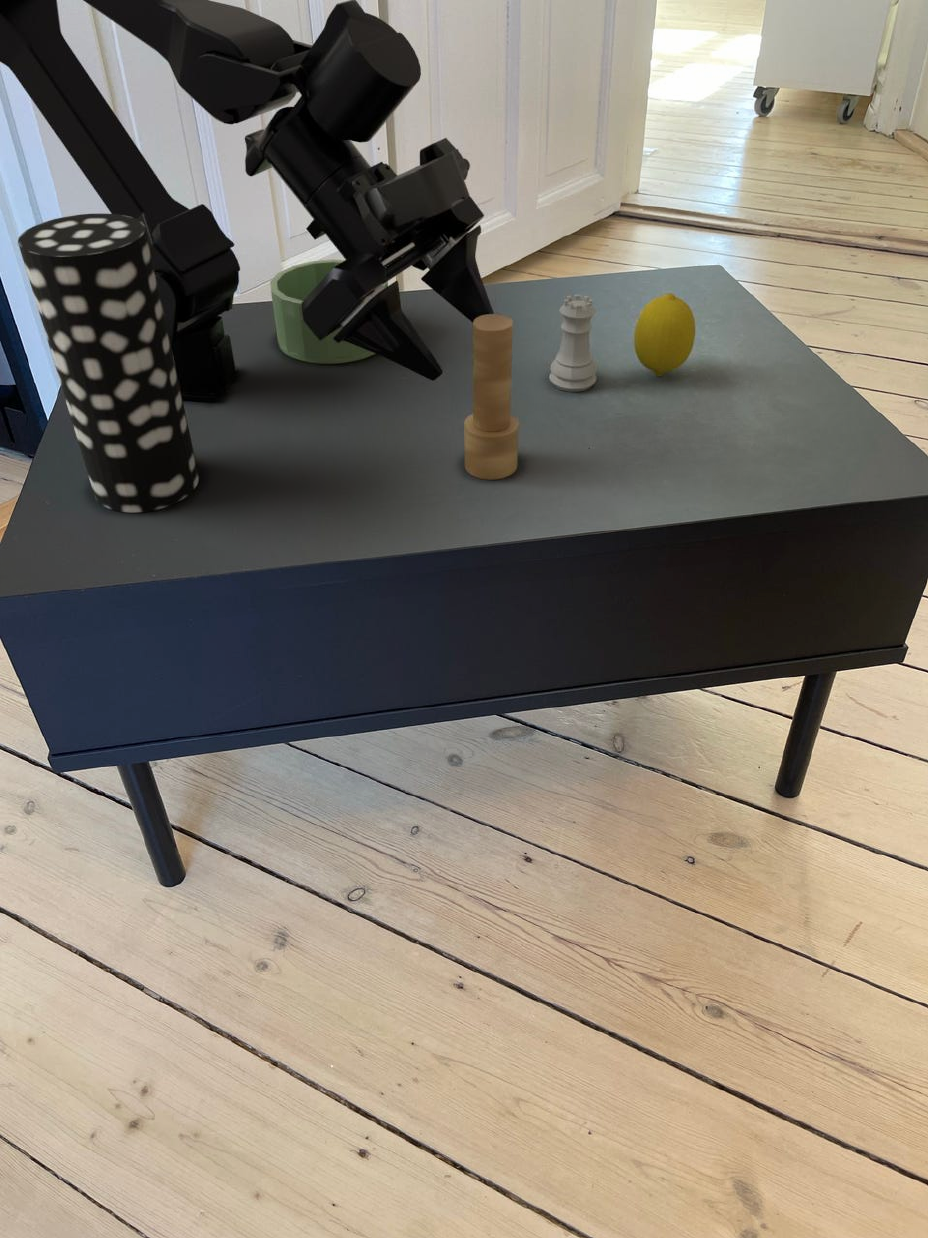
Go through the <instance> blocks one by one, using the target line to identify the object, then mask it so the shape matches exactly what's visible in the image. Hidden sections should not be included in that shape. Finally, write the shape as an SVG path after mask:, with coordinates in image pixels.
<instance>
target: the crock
mask: <svg viewBox="0 0 928 1238" xmlns="http://www.w3.org/2000/svg"><path fill="white" fill-rule="evenodd" d="M345 260H346V259H324V260H313V261H308V262H303V263H300V264H296V265H292V266H290V267H287V268H285V269H283V270H281V271H279V272H277V273H276V274H275V275H274V276H273V278H272V279H271V280H270V281H269V286H270V294H271V301H272V308H273V314H274V315H273V316H274V322H275V331H276V336H277V337H276V339H277V343H278V347H279V349H280V350H281V352H283V353H284V354H285V355H287V356H289V357H291V358H293V359H294V360H297V361H300V362H301V361H302V362H305V363H310V364H321V365H322V364H323V365H326V364H328V365H332V364H334V365H335V364H345V363H351V362H356V361H360V360H364V359H367V358H369V357H372V356H374V355H377V354H376V353H373V352H371V351H368V350H366V349H363V348H361V347H359V346H356V345H354V344H351V343H349V342H346V341H341V342H340V343H337V342H336V341H335V340H334V339H333V338H334V337H335V336H336V335H337V334H338V332H339V331H340V330H341V329H342V327H340V328H339V329H337V330H336V331H334V332H333V333H331V334H330V335H328V336H327V337H325V338H324V339H323V340H321V341H320V340H319V339H318V338H317V337H316V335H315V334H314V333H313V332H312V331H311V329H310V328H309V327H308V326H307V325H306V323H305V322H304V321H303V314H302V305H301V303H302V302H303V301H304V300H305V299H306V298H307V296H308V295H309V294H310V293H311V292H312V291H313V290H314V289H315V287H316V286H317V285H318V284H319V283H320V282H321V281H322V280H323V278H324V277H325V276H326V275H327V274H328V273H329V272H330V271H331V269H332V268H333V267H335V266H337V265H338V264H340V263H342V262H343V261H345ZM383 286H384V287H385V288H386V287H388V286H389V281H387V282H386V283H384V284H383Z"/></svg>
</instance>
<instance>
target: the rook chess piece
mask: <svg viewBox="0 0 928 1238" xmlns="http://www.w3.org/2000/svg"><path fill="white" fill-rule="evenodd" d="M559 313H560V314H561V316H562V317H563V322H562V324H561V325H560V327H561V329H562V337H561V342H560V348H559V350H558V352H557V354H555V359H554V360H553V361H552V362H551V365H550V373H549V376H548V377H549V381H550V382H551V383H552V385H553V386H554V387H555V388H556V389H558V390H560V391H563V392H564V391H565V392H569V393H573V392H574V393H576V392H578V393H579V392H583V391H586V390H588V389H590V388H591V387H592V386H593V385H594V384H595V383H596V381H597V376H596V372H597V367H596V366H597V365H596V362H594V361H593V360H594V359H593V355H591V352H590V349H591V348H590V331H591V330H592V329H593V326H592V324H591V319H592V318H593V316H595V314H596V313H597V311H596V308H595V306H594V305H593V299H592V298H590V296H588V295H584V296H583V299H581V294H574V299H573V297H572V295H567V296H565V298H564V300H563V304H562V305H561V307H560V308H559Z"/></svg>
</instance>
